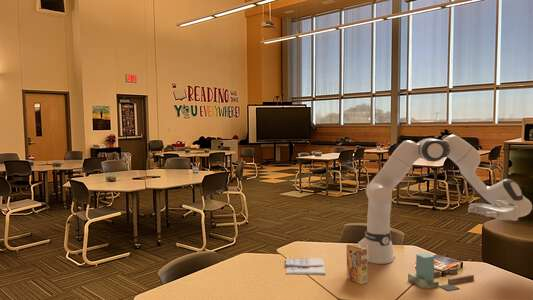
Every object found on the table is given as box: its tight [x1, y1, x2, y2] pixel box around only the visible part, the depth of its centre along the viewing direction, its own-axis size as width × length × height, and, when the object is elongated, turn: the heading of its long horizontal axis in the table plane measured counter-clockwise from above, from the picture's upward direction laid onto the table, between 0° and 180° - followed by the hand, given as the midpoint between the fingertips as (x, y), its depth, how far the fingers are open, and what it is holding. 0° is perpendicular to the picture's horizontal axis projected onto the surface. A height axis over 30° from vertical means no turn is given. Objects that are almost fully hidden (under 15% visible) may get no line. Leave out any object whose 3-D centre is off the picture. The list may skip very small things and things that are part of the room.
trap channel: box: [407, 267, 475, 292], centre depth 178 cm, size 21×26×3 cm
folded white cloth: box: [285, 257, 326, 276], centre depth 197 cm, size 19×20×2 cm
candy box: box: [346, 243, 368, 285], centre depth 178 cm, size 9×4×15 cm, turn 33°
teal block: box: [415, 252, 435, 282], centre depth 175 cm, size 5×5×12 cm
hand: (477, 212), depth 183 cm, fingers open, 8 cm apart
